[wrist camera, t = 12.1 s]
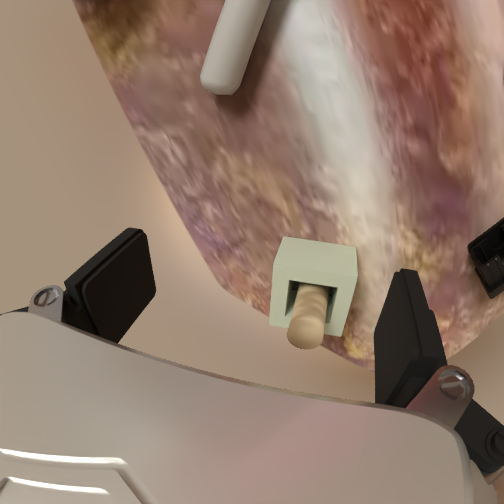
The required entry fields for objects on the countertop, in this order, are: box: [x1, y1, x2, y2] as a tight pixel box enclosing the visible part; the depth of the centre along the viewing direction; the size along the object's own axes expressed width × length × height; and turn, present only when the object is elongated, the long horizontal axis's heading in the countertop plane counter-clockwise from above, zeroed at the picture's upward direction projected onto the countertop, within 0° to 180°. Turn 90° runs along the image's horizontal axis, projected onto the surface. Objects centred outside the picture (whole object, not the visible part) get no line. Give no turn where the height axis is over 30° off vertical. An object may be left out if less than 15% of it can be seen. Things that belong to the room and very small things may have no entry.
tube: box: [200, 0, 271, 95], centre depth 25 cm, size 5×5×25 cm
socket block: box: [269, 236, 358, 337], centre depth 40 cm, size 10×10×7 cm
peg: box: [287, 282, 329, 349], centre depth 37 cm, size 4×4×12 cm
